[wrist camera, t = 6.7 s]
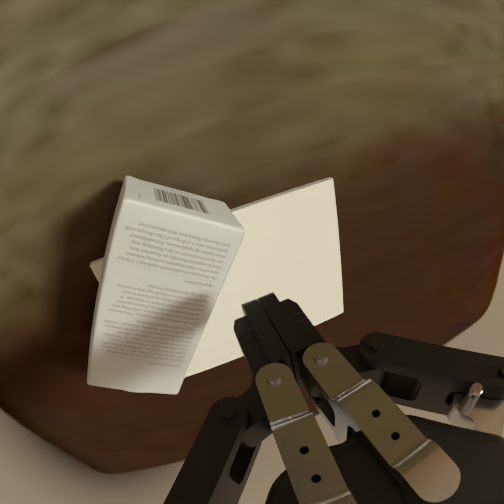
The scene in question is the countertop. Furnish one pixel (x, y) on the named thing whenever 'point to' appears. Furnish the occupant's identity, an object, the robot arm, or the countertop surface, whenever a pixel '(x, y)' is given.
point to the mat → (276, 266)
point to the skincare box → (158, 285)
